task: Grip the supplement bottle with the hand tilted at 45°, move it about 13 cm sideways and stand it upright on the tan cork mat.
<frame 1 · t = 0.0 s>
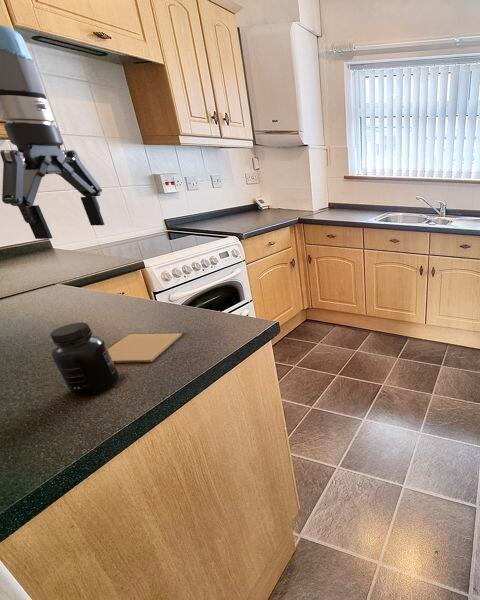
hand: (73, 231, 74), 23 cm above the table, tool pointing down, fingers open, 13 cm apart
cork mat: (139, 348, 73), on the table
supplement bottle: (97, 386, 61), on the table
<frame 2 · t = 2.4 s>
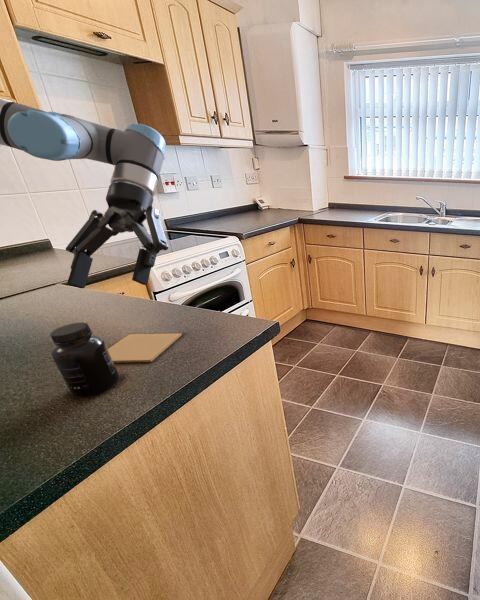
hand: (107, 284, 65), 16 cm above the table, tool tilted 40°, fingers open, 13 cm apart
nothing on the table moved.
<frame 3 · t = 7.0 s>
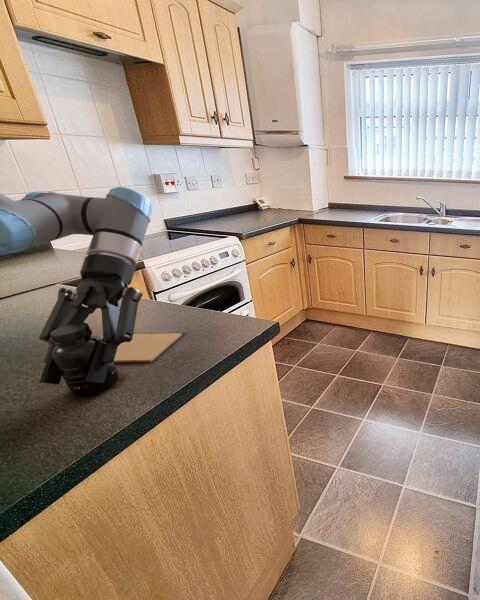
hand: (72, 382, 57), 3 cm above the table, tool tilted 45°, fingers closed on supplement bottle, 7 cm apart
supplement bottle: (97, 386, 61), on the table, touching gripper
when the fingers open (4 cm above the table, at t = 14.8 s): supplement bottle stays where it is, resting on cork mat.
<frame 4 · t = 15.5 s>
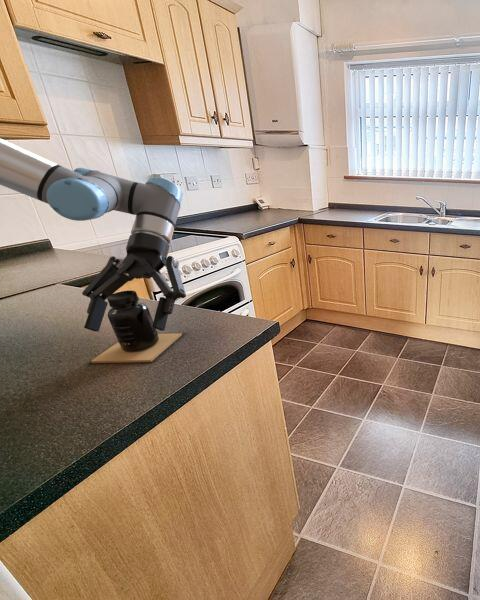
hand: (124, 329, 69), 6 cm above the table, tool tilted 45°, fingers open, 13 cm apart
supplement bottle: (141, 345, 74), resting on cork mat
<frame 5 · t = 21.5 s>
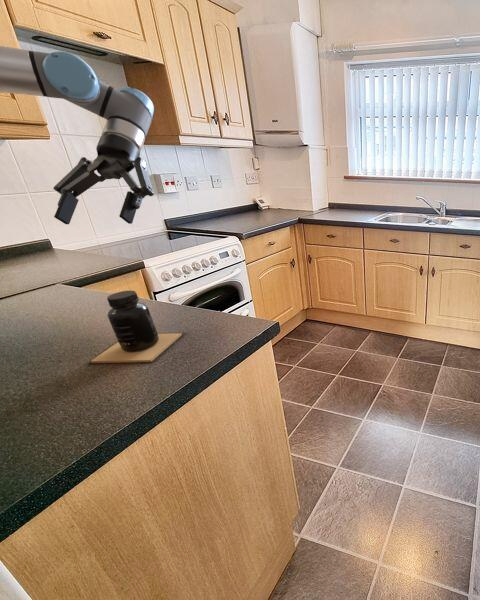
hand: (93, 220, 72), 26 cm above the table, tool tilted 45°, fingers open, 13 cm apart
nothing on the table moved.
at the end: supplement bottle inside the target area (0.0 cm from its centre), resting on cork mat; supplement bottle tilted 0°; the gripper is holding nothing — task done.
